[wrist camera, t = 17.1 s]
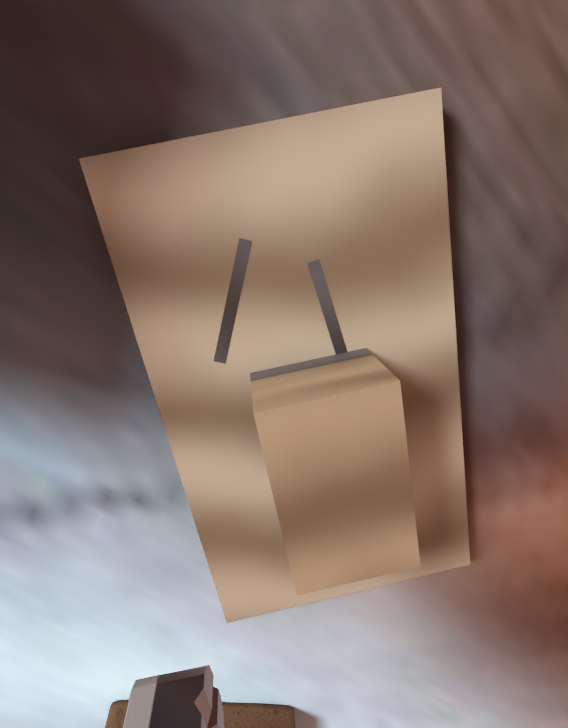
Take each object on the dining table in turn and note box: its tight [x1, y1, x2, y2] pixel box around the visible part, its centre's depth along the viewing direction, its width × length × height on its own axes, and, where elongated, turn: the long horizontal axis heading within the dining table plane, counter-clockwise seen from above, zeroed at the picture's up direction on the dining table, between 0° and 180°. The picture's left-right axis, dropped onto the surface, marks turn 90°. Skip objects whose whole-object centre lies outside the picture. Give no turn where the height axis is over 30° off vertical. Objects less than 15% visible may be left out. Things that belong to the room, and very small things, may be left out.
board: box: [79, 88, 470, 623], centre depth 19 cm, size 22×13×1 cm, turn 11°
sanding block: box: [250, 348, 421, 596], centre depth 17 cm, size 8×5×4 cm, turn 11°
